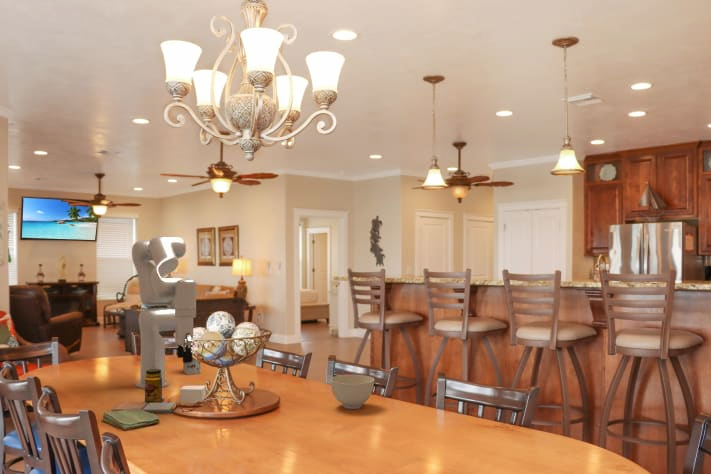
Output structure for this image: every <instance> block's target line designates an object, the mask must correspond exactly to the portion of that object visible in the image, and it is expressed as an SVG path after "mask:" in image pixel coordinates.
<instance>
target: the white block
mask: <svg viewBox="0 0 711 474" xmlns="http://www.w3.org/2000/svg"><path fill="white" fill-rule="evenodd" d="M205 396H206V397H207V385H183V386H182V387H181V388H180V389H179V401H180V402H179V404H180V403H197V402H199V401H202V400H203V399H204V398H205Z"/></svg>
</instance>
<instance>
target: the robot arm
mask: <svg viewBox="0 0 711 474" xmlns="http://www.w3.org/2000/svg"><path fill="white" fill-rule="evenodd" d="M186 253H187V244H186V242H185V240H184V239H183V238H182V237H180V236H155V237H153V238H151V239H145V240H138V241H136V242H134V243H133V245H132V248H131V258H132V262H133V266H134V267H135V271H136V273H137V277H138V287H139V288H138V289H139V297H140V302H141V304H142V305H143V306H146V307H147V306H148V307H154V308H147V309H144V310H142V311H141V312H140V313H139V315H138V326H139V331H140V374H139V375H140V379H139V380H140V381H138V382H136V385H135V386H136V387H137V388H139V389H145V378H146V371H147V370H150V369H160V370H161V377H162V388H165V387H167V386H169V381H168V380H166V379H165V378H166V376H165V375H166V373H165V371H166V370H165V367H166V360H165V359H166V342H165V339H164V338H163V336H162V335H161V334H160V332H166V331H175V333H174V334H175V335H174V336H175V337H174V341H175V343H176V344H177V358H178V359H182V363H188V362H192V353H191V351H192V349H191V347H192V345H191V343H192V340H191V338H193V336H194V318H196V317H197V282H196V280H195V279H191V278H189V277H164V276H166V275H169V274H171V273H173V272H174V271H176V269H178V266H179V259H180V258H182V257H184V256H185V254H186ZM151 261H153V262H154V264H155V265H154V264H153V263H152V262H151ZM155 306H159V307H156V308H155ZM160 306H166V307H160ZM185 339H187V344H186V343H185ZM182 344H183V347H182V346H181V345H182ZM185 346H186V347H185Z"/></svg>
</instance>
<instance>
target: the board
mask: <svg viewBox="0 0 711 474" xmlns="http://www.w3.org/2000/svg"><path fill="white" fill-rule="evenodd" d="M175 404H177V405H178V403H177V402H164V403H143V402H121V403H120V404H118V405H116V407H114V408H113V409H111V411H110V412H112V411H122V410H124V409H126V410H127V409H132V408H139V409H142V410H143V411H145V412H149V413H152V414H171V413H172V412H173V411H174V410H173V406H174V405H175ZM172 410H173V411H172Z"/></svg>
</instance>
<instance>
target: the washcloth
mask: <svg viewBox="0 0 711 474" xmlns="http://www.w3.org/2000/svg"><path fill="white" fill-rule="evenodd" d="M160 420H161V419H160V417H159V416H157V415H156V413H149V412H145V411H143V410H142V409H139V408H132V409H127V410H126V409H124V410H122V411H112V412H111V411H107V412H104V413H103V414H102V421H103V422H105V423H107V424H110V425H112V426H114V427H117V428H119V429H122V430H124V431H129V430H134V429H138V428H143V427H145V426H150V425H154V424H159V423H160Z"/></svg>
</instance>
